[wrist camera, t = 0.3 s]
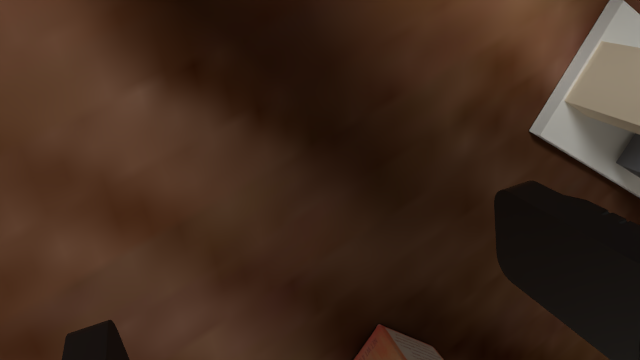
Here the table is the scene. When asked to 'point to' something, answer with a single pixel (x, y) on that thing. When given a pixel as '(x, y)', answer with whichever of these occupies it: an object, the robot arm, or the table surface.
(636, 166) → the grey sliding block
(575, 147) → the pipe stand
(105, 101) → the table surface
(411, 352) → the cracker box
